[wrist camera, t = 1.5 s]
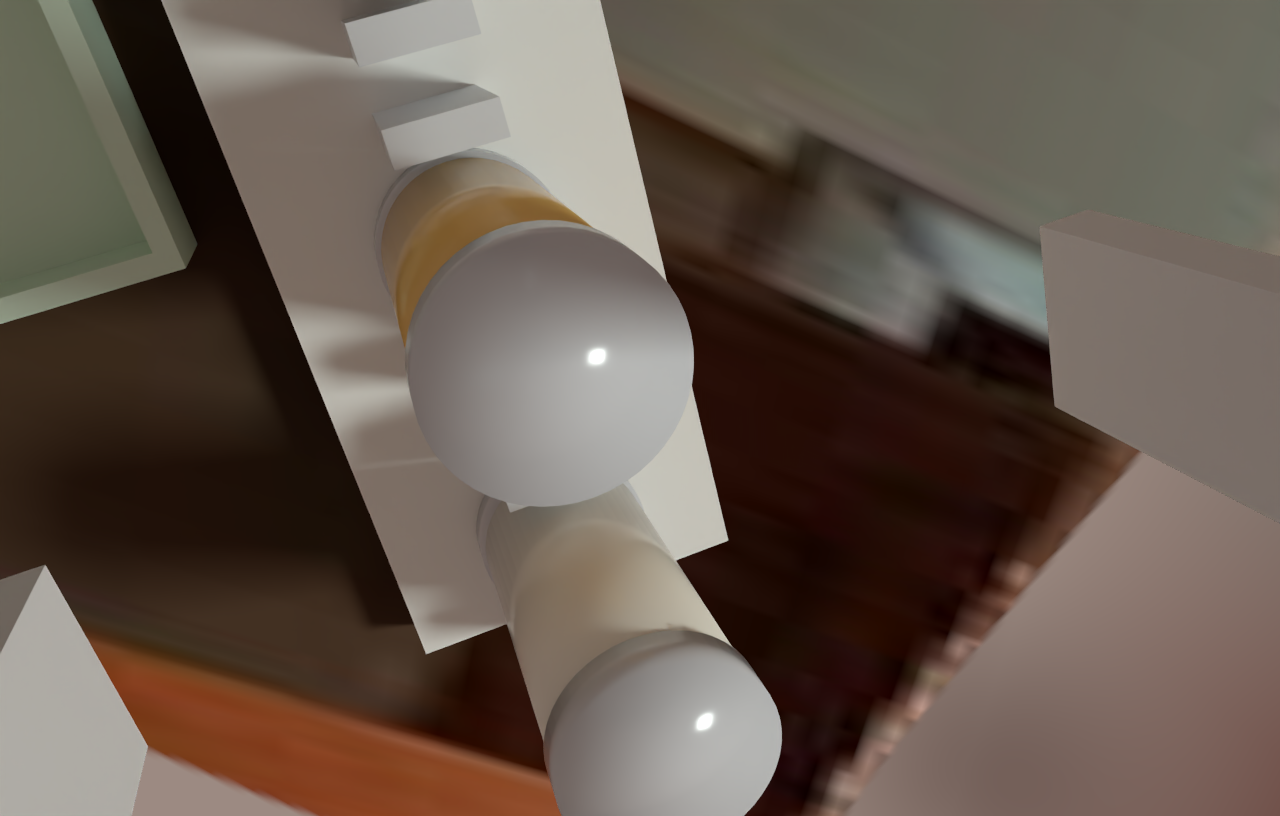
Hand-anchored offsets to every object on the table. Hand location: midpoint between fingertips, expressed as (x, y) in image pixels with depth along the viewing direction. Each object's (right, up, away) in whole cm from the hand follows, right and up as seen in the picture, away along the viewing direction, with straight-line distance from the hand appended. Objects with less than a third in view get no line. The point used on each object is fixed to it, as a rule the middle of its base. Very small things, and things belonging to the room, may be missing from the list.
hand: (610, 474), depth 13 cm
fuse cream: (-2, -2, +15) cm, 15 cm away
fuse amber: (-4, +5, +11) cm, 13 cm away
